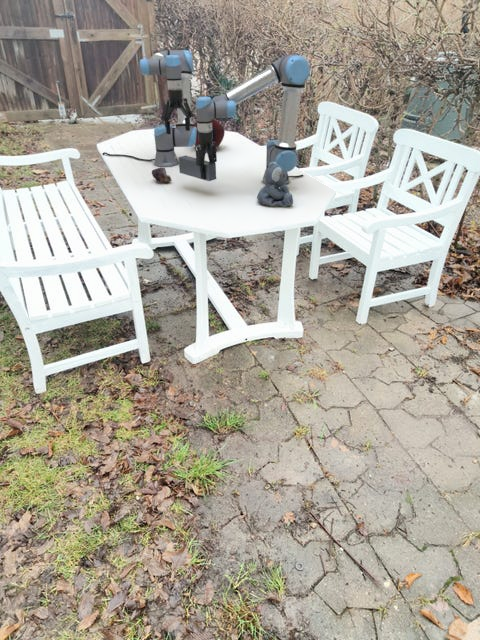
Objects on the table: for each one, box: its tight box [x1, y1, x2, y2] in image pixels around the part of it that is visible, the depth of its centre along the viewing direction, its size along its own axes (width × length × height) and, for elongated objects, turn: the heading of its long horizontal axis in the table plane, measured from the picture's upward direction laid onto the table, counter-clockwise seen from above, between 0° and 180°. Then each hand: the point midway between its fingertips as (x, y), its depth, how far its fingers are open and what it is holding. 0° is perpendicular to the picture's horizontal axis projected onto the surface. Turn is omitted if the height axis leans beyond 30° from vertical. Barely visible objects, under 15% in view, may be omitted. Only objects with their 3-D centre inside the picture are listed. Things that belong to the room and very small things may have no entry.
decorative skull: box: [194, 118, 225, 149], centre depth 320 cm, size 21×24×25 cm
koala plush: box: [256, 162, 294, 208], centre depth 228 cm, size 17×18×20 cm
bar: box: [177, 155, 217, 182], centre depth 241 cm, size 24×5×8 cm, turn 47°
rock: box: [151, 166, 172, 183], centre depth 260 cm, size 12×9×10 cm
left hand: (178, 132), depth 247 cm, fingers open, 13 cm apart
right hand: (207, 177), depth 239 cm, fingers closed on bar, 5 cm apart
